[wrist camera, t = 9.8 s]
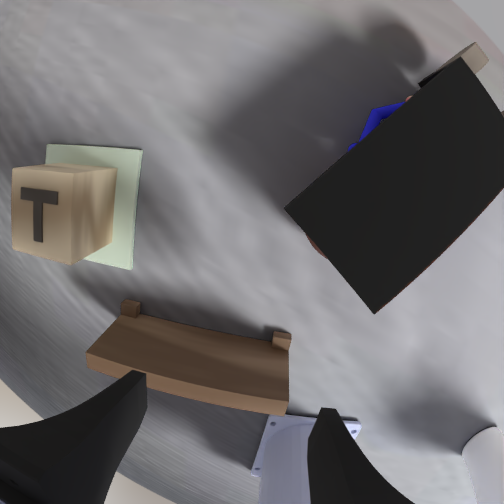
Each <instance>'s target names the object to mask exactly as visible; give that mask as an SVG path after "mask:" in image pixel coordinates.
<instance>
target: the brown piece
mask: <svg viewBox="0 0 504 504" xmlns="http://www.w3.org/2000/svg"><path fill="white" fill-rule="evenodd" d="M290 343H291V334H289V333H283V332H277V331H274V333H273V337H272V341H271V342H270V341H264V340H258V339H253V338H248V337H242V336H237V335H232V334H227V333H222V332H217V331H213V330H208V329H203V328H199V327H194V326H190V325H185V324H181V323H177V322H172V321H168V320H164V319H160V318H156V317H152V316H148V315H144V314H140V302H136V301H132V300H128V299H125V300H124V301H123V302H122V303H121V315H120V316H119V317H118V318H117V319H116V320H115V321H114V322H113V323H112V324H111V326H110V327H109V328H108V329H107V330H106V331H105V332H104V333H103V334H102V335H101V336H100V337H99V338H98V339H97V340H96V342H95V343H94V344H93V345H92V346H91V347H90V348H89V349H88V350H87V351H86V360H87V367H88V368H90V369H92V370H95V371H98V372H101V373H104V374H107V375H110V376H113V377H116V378H119V379H120V378H122V377H123V376H124V375H126V374H127V373H128V372H130V371H131V370H136V371H139V372H143V373H146V382H147V387H148V388H151V389H155V390H158V391H162V392H166V393H170V394H173V395H177V396H181V397H185V398H189V399H194V400H198V401H202V402H207V403H211V404H216V405H221V406H226V407H231V408H236V409H241V410H247V411H253V412H259V413H265V414H271V415H278V416H284V415H285V412H286V409H287V406H288V403H289V354H288V351H289V347H290Z"/></svg>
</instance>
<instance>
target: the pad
mask: <svg viewBox="0 0 504 504" xmlns="http://www.w3.org/2000/svg"><path fill="white" fill-rule="evenodd" d="M142 153H143V150H135V149H124V148H111V147H98V146H82V145H62V144H47V149H46V160H45V164H52V163H69V164H80V165H91V166H102V167H111V168H118V169H117V179H116V189H115V201H114V216H113V234H112V243H110V244H108V245H106V246H105V247H103V248H101V249H99V250H97V251H96V252H94V253H92V254H90V255H89V256H87V257H85V258H83V259H85V260H89V261H93V262H97V263H102V264H106V265H110V266H114V267H119V268H123V269H127V270H131V269H132V268H133V248H134V232H135V219H136V207H137V196H138V187H139V178H140V169H141V161H142Z"/></svg>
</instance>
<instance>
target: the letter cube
mask: <svg viewBox="0 0 504 504" xmlns="http://www.w3.org/2000/svg"><path fill="white" fill-rule="evenodd" d="M117 169H118V168H111V167H102V166H91V165H80V164H69V163H52V164H43V165H33V166H25V167H17V168H12V193H11V220H12V245H13V249H14V250H17V251H21V252H24V253H28V254H31V255H35V256H38V257H42V258H45V259H49V260H53V261H56V262H60V263H64V264H68V265H73V264H75V263H76V262H78V261H80V260H82V259H83V258H85V257H87V256H89V255H90V254H92V253H94V252H96V251H97V250H99V249H101V248H103V247H105V246H106V245H108V244H110V243H112V234H113V216H114V201H115V189H116V179H117Z"/></svg>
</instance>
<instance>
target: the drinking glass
mask: <svg viewBox="0 0 504 504" xmlns="http://www.w3.org/2000/svg"><path fill="white" fill-rule="evenodd" d="M462 458H463V461H464V463H465V465H466V468H467V470H468V473H469V477H470V480H471V483H472V486H473V490H474V493H475V497H476V500H477V504H504V434H503V432H502V431H501V430H500V429H499V428H497V427H490V428H487V429H484V430H483V431H481V432H479V433H478V434H476V435H475V436H474V437H472V438H471V439H470V440H469V441H468V443H467V444H466V445H465V447H464V448H463V451H462Z"/></svg>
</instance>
